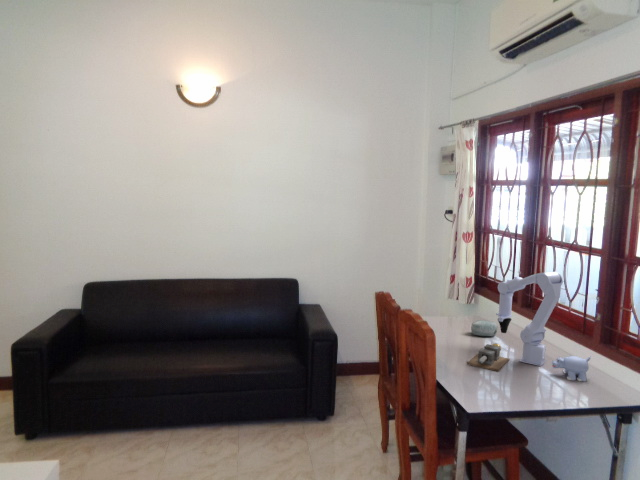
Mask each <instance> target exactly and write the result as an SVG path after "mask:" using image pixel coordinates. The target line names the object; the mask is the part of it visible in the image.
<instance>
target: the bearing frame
mask: <svg viewBox="0 0 640 480" xmlns="http://www.w3.org/2000/svg"><path fill="white" fill-rule="evenodd" d="M490 350H493V351H490ZM500 352H501V351H500V347H498V346H494V345H493V344H488V343H487V344H485V345H484V347H483V348H480V349H479V350H478V353H477V354H476V355H474V356H473V357H472V358H471V359H469V360H468V361H467V363H466V364H467V365H468V366H473V367H478V368H481V369H485V370H489V371H490V370H491V371H492V372H493V371H494V372H497V373H498V372H500V371H501V370H502V369H503V368H504V367H505V366H506V364H508V363H509V362H510V359H511V358H508V357H505V356H504V357H503V356H500ZM484 355H488V359H486V360H485V361H484V362H483V363H480V362H479V359H480V358H481V357H483V356H484Z"/></svg>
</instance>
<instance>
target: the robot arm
mask: <svg viewBox="0 0 640 480" xmlns="http://www.w3.org/2000/svg"><path fill="white" fill-rule="evenodd" d="M563 283H564V280H563V277H562V274H561V273H560V272H558V271H556V270H555V271H551V272H550V271H549V272H539V273H534V274H532V275H528V276H525V277H524V278H523V277H520V276H515V277H514V278H513V279H507V280H506V281H500V282H499V283H498V284H497V290H498V292H499V305H498V306H499V307H498V312H497V313H496V316H498V318H497V322H498V324H499V328H500V332H501V334H507V331H508V330H509V329H508V328H509V326H510V323H511V321H512V308H513V307H512V306H513V305H512V304H513V296H514V293H515V292H517V291H520V290H524V289H525V288H526V286H527V285H531V284H536V285H538V287H539V288H540V289H541V291H542V292H543V294H544V297H543V300H542V302H541V303H540V305H539V307H538V309H537V310H536V313H535V315H534V316H533V319H532V320H531V322H530V323H529V324H527V325H526V326H525V328H524V329H522V330H521V331H520V334H519V335H520V336H519V337H520V340H521V341H522V343H523V344H522V357H521V358H520V359H519V362H520V363H526V364H530V365H534V366H538V367H542V366H543V364H544V363H545V362H546V347H547V346H546V345H545V344H542V342H543V341H544V339H545V337H546V336H545V334H546V331H547V330H546V327H545V326H546V325H547V322H548V320H549V318H550V317H551V314H552V313H553V312H554V311H553V310H555V307H556V305H557V303H558V302H559V299H560V298H561V290H562V285H563Z"/></svg>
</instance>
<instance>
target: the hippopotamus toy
mask: <svg viewBox="0 0 640 480" xmlns="http://www.w3.org/2000/svg"><path fill="white" fill-rule="evenodd" d="M591 357H592V356H591V355H589V357H587V358H586V359H585V358H582V357H580V356H577V355H576V356H575V355H570V356H566V357H565V356H564V357H563V358H562V357H561V356H559V357H558V358H556V359H555V360H552V362H551V365H552V368H553V369H559V368H560V369H563V370H562V373H564V374H566V375H567V376H566V379H567V380H568V381H576V380H577V381H578V382H587V373H588V371H589V363H588V362H589V361H590V360H591ZM576 376H578V377H576Z"/></svg>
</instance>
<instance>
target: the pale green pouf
mask: <svg viewBox="0 0 640 480" xmlns="http://www.w3.org/2000/svg"><path fill="white" fill-rule="evenodd" d="M470 330H471V334H472V335H474V336H478V337H494V336H496V335H497V332H498V325H497V323H496V322H494V321H491V320H484V319H483V320H481V319H479V320H475V321H473V322H472V323H471V327H470Z"/></svg>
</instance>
